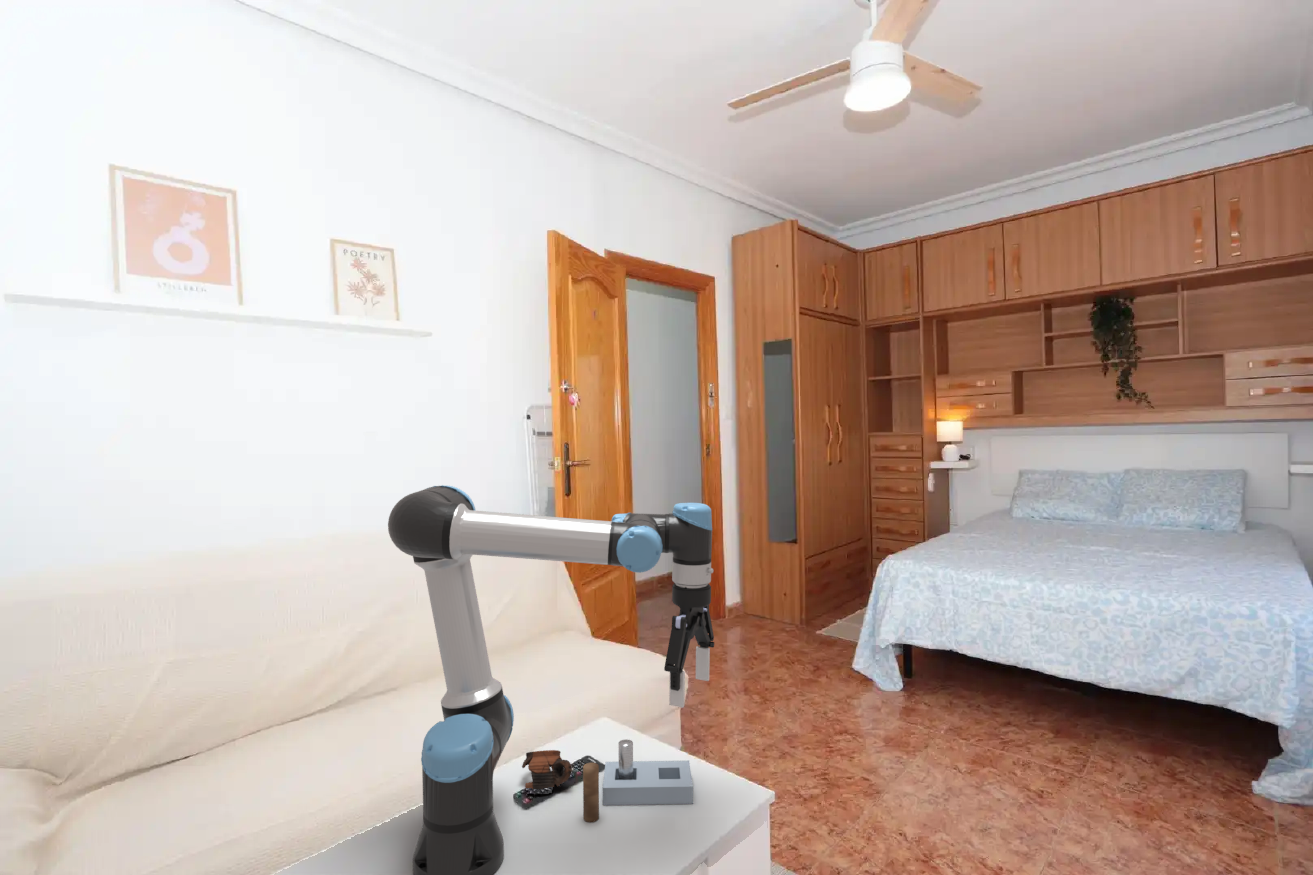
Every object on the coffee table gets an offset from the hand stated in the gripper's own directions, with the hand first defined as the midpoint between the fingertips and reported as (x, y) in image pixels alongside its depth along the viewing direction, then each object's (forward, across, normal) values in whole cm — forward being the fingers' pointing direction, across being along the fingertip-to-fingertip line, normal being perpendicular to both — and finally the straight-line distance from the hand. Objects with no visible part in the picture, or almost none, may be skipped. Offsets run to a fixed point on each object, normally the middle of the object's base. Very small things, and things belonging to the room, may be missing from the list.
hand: (690, 691), depth 127 cm
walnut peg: (+24, -9, +17) cm, 31 cm away
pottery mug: (+25, -3, +31) cm, 40 cm away
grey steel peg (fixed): (+24, +2, +15) cm, 28 cm away
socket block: (+24, +4, +11) cm, 27 cm away
